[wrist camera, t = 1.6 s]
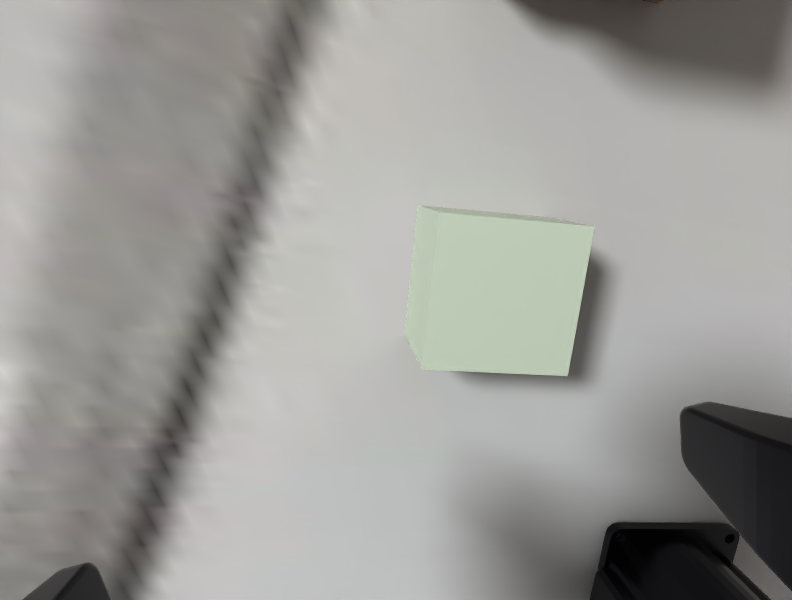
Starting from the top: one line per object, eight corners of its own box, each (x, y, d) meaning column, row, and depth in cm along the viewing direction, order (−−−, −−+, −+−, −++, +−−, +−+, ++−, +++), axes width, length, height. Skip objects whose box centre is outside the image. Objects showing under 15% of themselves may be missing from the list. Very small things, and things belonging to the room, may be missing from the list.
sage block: (543, 216, 20) (594, 226, 16) (523, 339, 21) (567, 375, 17) (417, 205, 19) (439, 212, 15) (403, 332, 20) (421, 369, 16)
